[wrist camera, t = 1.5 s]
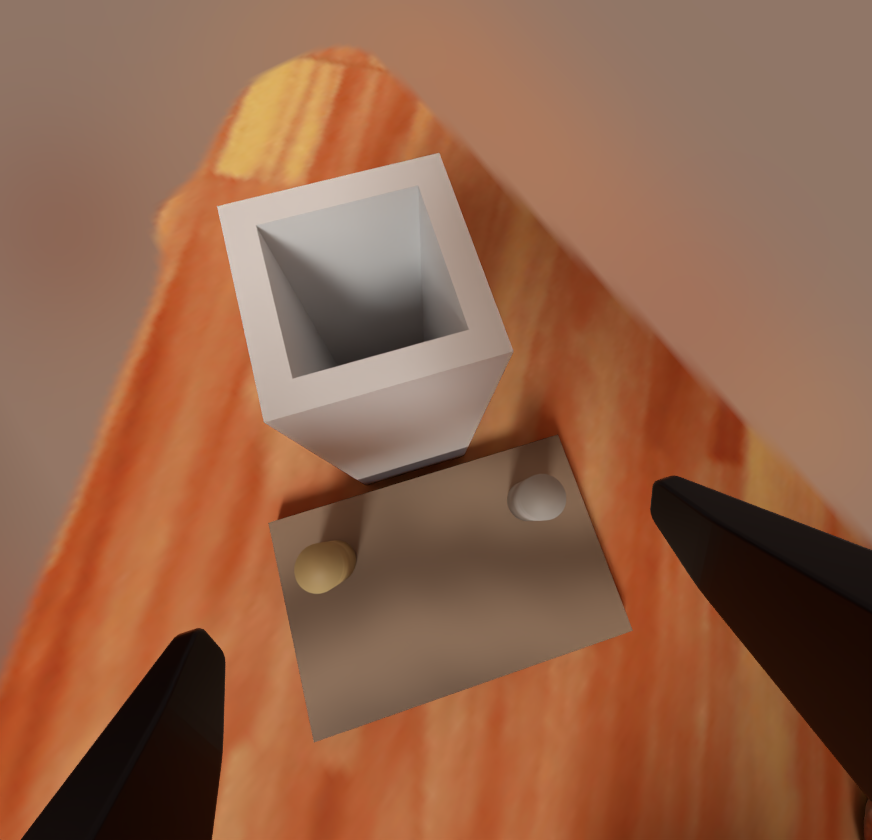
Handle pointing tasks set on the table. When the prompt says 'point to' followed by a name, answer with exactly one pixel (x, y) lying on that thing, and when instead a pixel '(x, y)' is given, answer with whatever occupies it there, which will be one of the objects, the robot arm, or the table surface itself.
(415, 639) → the pin board
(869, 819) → the sauce bottle
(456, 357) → the grey sleeve
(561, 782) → the table surface
